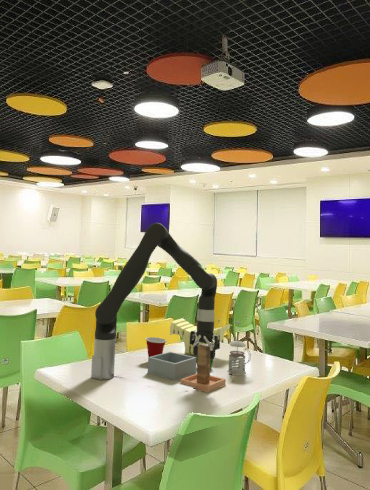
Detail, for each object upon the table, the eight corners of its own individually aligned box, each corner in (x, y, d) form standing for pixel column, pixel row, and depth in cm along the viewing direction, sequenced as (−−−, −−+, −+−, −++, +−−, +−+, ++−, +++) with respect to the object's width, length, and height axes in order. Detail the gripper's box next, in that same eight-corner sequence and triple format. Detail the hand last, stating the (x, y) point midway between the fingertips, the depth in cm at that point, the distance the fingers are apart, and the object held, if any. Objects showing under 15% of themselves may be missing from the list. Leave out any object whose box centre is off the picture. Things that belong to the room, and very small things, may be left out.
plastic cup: (164, 365, 205) (165, 341, 205) (143, 364, 205) (144, 340, 205) (166, 359, 216) (167, 337, 216) (145, 359, 216) (146, 336, 216)
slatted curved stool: (169, 353, 231) (170, 321, 231) (181, 347, 245) (182, 318, 245) (219, 361, 218) (220, 327, 218) (228, 354, 232) (230, 323, 233)
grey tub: (174, 382, 178) (175, 364, 179) (147, 374, 188) (148, 357, 188) (195, 374, 191) (196, 357, 191) (169, 367, 201) (170, 351, 201)
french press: (231, 368, 204) (233, 318, 205) (253, 372, 198) (255, 321, 199) (222, 373, 196) (224, 320, 196) (245, 377, 190) (247, 323, 190)
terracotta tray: (207, 392, 167) (207, 386, 167) (180, 385, 175) (180, 379, 175) (225, 384, 178) (225, 379, 178) (199, 378, 186) (199, 372, 186)
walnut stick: (204, 384, 174) (205, 347, 174) (196, 382, 176) (198, 345, 177) (209, 382, 177) (210, 345, 177) (201, 380, 179) (203, 344, 180)
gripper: (187, 318, 178) (185, 355, 178) (214, 322, 170) (212, 361, 169) (197, 316, 184) (195, 352, 184) (224, 320, 176) (222, 358, 175)
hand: (203, 356), depth 177 cm, fingers open, 8 cm apart
